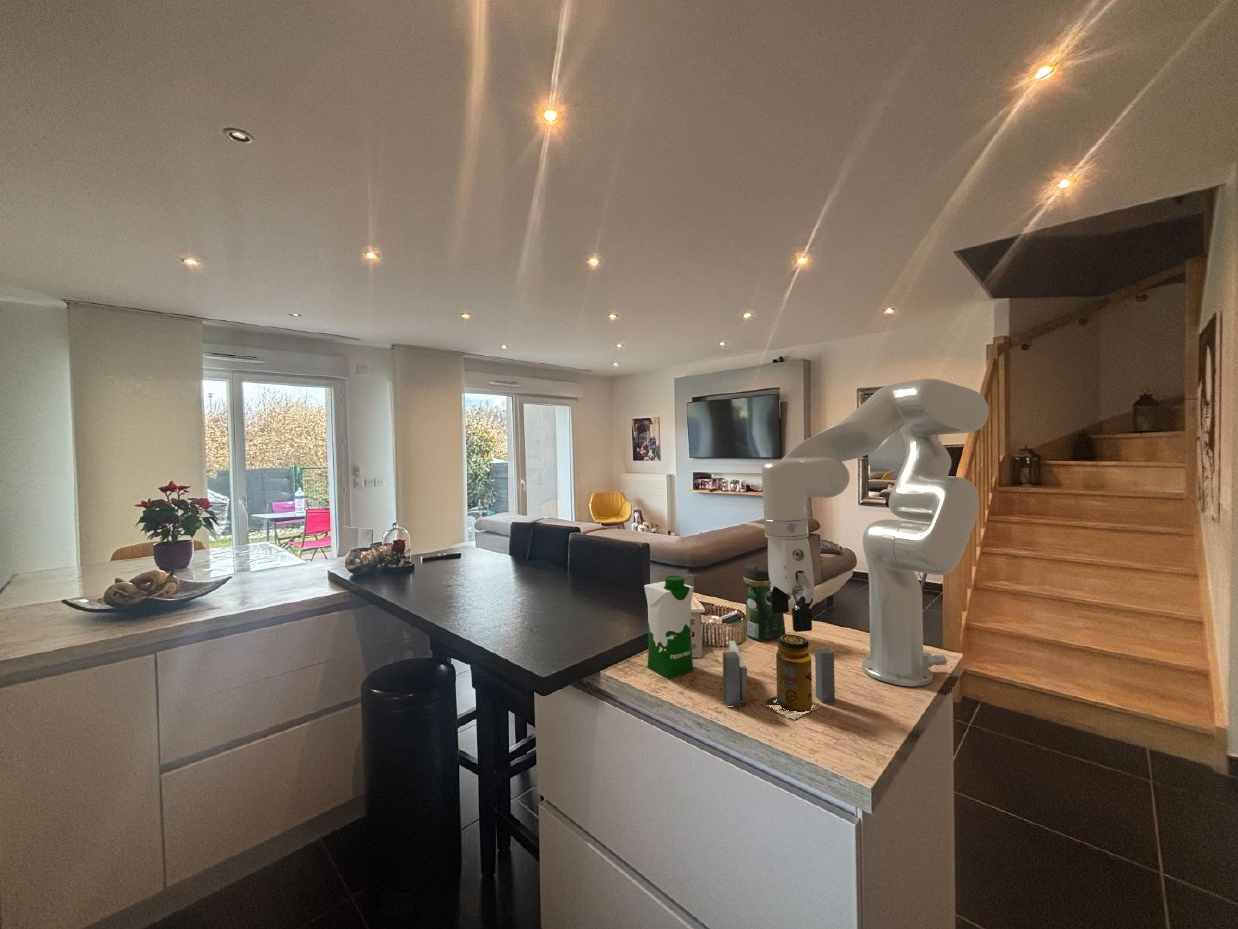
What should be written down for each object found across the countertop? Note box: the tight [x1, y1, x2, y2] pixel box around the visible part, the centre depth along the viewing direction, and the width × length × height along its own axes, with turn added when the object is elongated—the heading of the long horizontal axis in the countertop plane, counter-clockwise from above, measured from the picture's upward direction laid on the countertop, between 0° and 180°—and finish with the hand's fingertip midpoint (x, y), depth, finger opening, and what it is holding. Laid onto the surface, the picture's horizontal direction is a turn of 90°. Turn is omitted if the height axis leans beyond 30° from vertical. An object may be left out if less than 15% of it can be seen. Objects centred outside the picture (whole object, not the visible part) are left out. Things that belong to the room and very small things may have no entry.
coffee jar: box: [742, 561, 786, 642], centre depth 122 cm, size 10×8×19 cm
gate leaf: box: [728, 640, 749, 703], centre depth 95 cm, size 2×14×6 cm, turn 175°
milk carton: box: [643, 575, 695, 680], centre depth 104 cm, size 9×9×20 cm
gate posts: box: [722, 647, 836, 707], centre depth 89 cm, size 20×2×9 cm, turn 93°
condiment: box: [759, 634, 823, 721], centre depth 87 cm, size 7×8×12 cm
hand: (790, 621), depth 88 cm, fingers open, 9 cm apart
